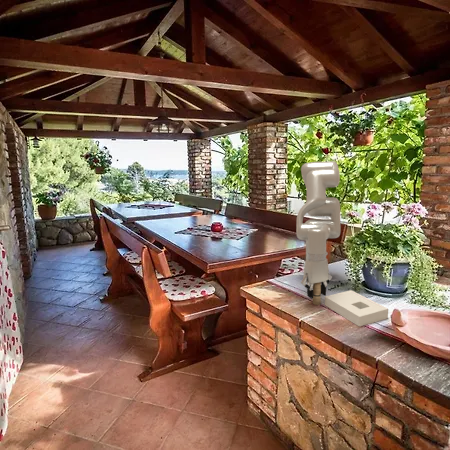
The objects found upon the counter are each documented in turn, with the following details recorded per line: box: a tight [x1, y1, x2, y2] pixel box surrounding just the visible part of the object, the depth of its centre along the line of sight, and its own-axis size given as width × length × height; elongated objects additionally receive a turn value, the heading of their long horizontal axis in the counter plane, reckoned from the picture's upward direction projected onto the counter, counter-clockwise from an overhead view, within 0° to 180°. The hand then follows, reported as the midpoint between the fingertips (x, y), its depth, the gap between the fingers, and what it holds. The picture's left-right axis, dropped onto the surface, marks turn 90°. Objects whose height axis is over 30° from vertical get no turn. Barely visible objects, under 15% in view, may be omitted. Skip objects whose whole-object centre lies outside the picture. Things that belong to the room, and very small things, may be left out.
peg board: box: [324, 289, 389, 328], centre depth 131 cm, size 20×14×4 cm
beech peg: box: [312, 282, 322, 306], centre depth 139 cm, size 4×4×10 cm
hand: (316, 295), depth 140 cm, fingers open, 5 cm apart
